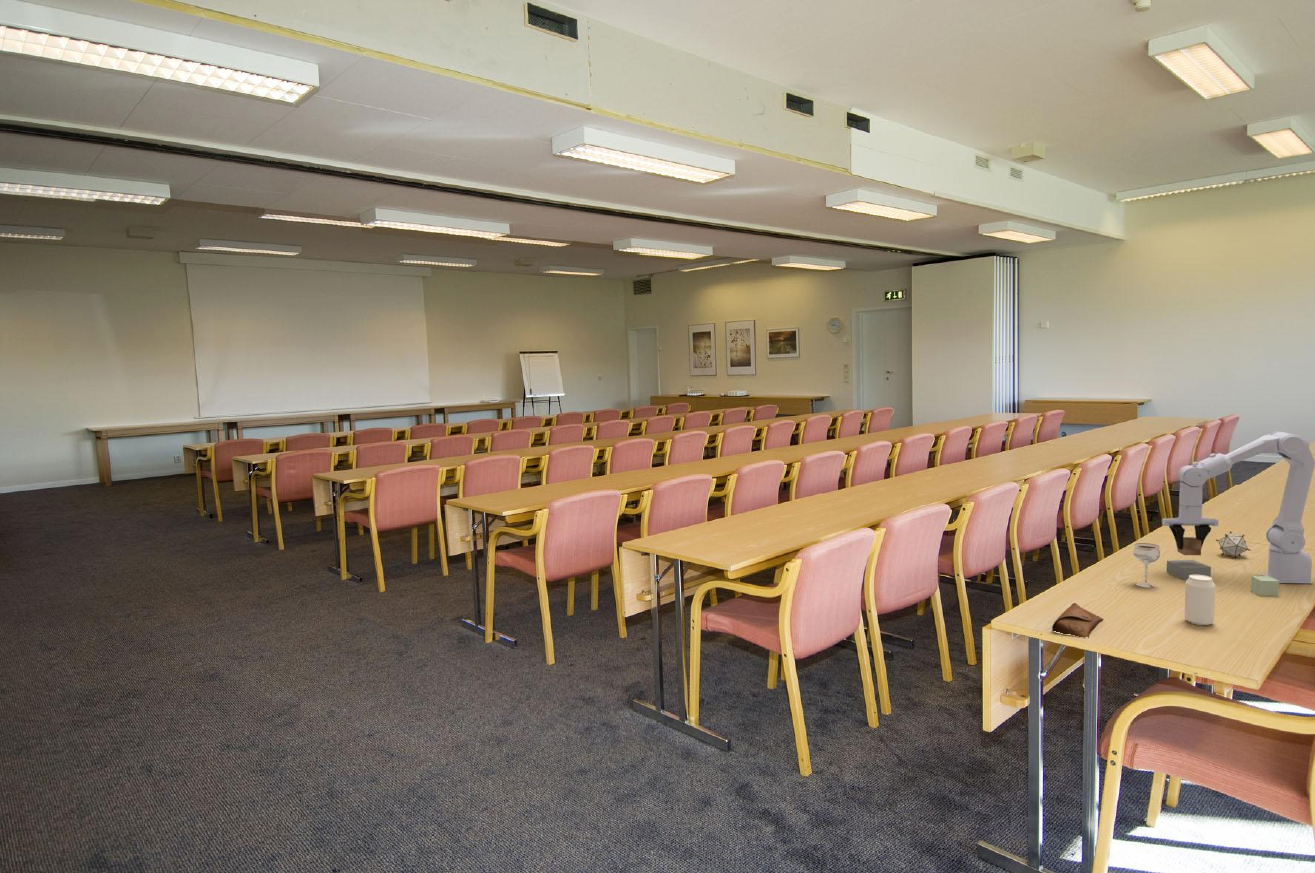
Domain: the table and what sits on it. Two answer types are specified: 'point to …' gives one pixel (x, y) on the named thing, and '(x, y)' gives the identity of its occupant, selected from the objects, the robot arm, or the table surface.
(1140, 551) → the wineglass
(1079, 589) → the table surface
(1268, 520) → the table surface
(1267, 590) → the sage-green block
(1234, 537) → the game die
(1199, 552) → the walnut block
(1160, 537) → the table surface
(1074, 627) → the sunglasses case
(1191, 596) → the beverage can
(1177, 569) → the grey square block
